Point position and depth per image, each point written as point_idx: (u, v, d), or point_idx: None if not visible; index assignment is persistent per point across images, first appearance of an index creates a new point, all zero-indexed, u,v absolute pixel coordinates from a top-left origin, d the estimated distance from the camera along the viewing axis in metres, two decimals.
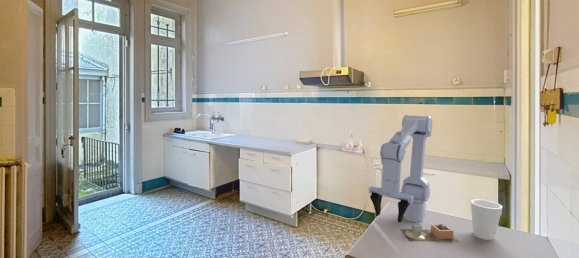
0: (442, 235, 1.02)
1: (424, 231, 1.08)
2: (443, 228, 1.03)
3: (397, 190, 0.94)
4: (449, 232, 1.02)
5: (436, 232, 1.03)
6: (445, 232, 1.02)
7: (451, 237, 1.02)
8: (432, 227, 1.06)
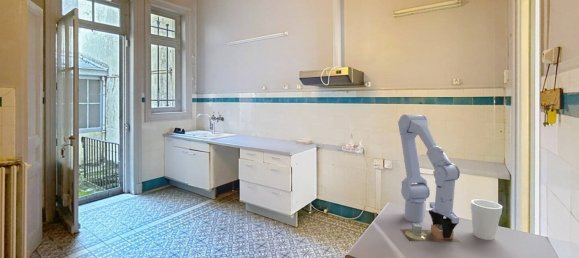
0: (442, 235, 1.02)
1: (424, 231, 1.08)
2: None
3: (446, 209, 1.01)
4: None
5: (436, 232, 1.03)
6: None
7: (451, 237, 1.02)
8: (432, 227, 1.06)
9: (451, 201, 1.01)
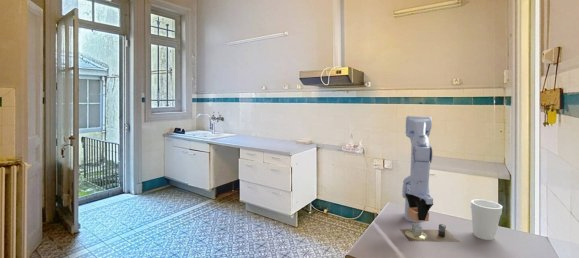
0: (417, 217, 1.01)
1: (424, 231, 1.08)
2: (443, 228, 1.03)
3: (420, 190, 1.00)
4: None
5: (412, 214, 1.02)
6: None
7: (427, 219, 1.01)
8: (408, 210, 1.05)
9: (426, 183, 1.00)
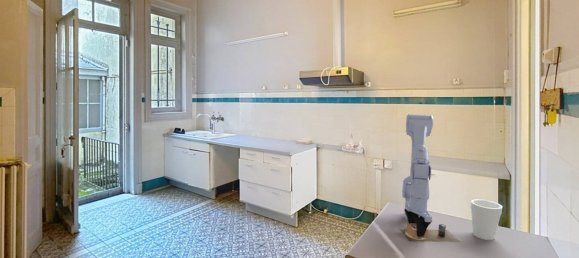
0: (416, 234, 1.02)
1: None
2: (443, 228, 1.03)
3: (419, 207, 1.01)
4: None
5: (411, 231, 1.03)
6: None
7: (425, 236, 1.02)
8: (407, 226, 1.06)
9: (425, 200, 1.01)
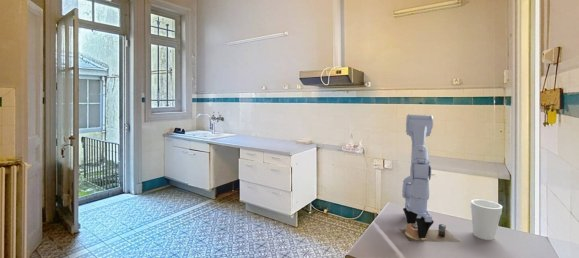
0: (416, 234, 1.02)
1: None
2: (443, 228, 1.03)
3: (419, 207, 1.01)
4: None
5: (411, 231, 1.03)
6: None
7: None
8: (407, 226, 1.06)
9: (425, 200, 1.01)
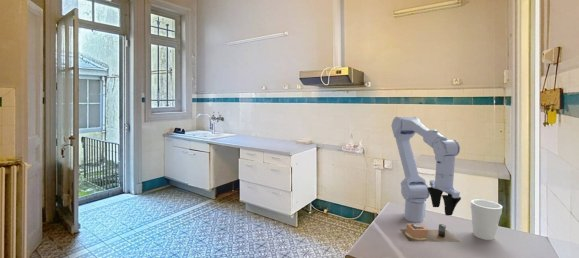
0: (416, 234, 1.02)
1: None
2: (443, 228, 1.03)
3: (446, 184, 1.00)
4: (423, 231, 1.02)
5: (411, 231, 1.03)
6: (419, 231, 1.02)
7: (425, 236, 1.02)
8: (407, 226, 1.06)
9: (451, 176, 0.99)
